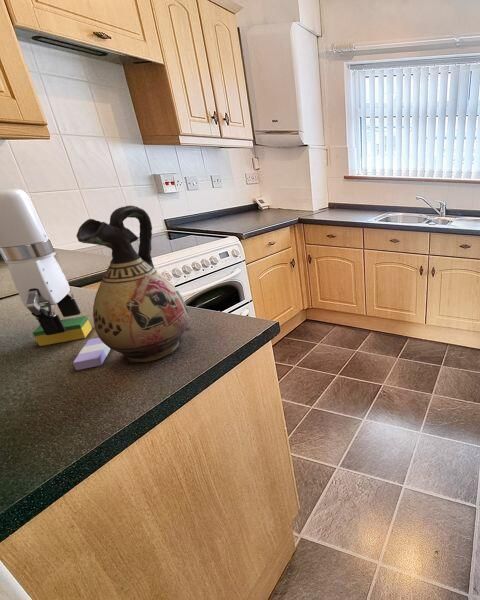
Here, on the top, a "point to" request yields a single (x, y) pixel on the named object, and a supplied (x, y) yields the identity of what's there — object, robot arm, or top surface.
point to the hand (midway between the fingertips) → (64, 323)
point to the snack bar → (91, 354)
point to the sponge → (74, 330)
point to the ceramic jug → (134, 292)
